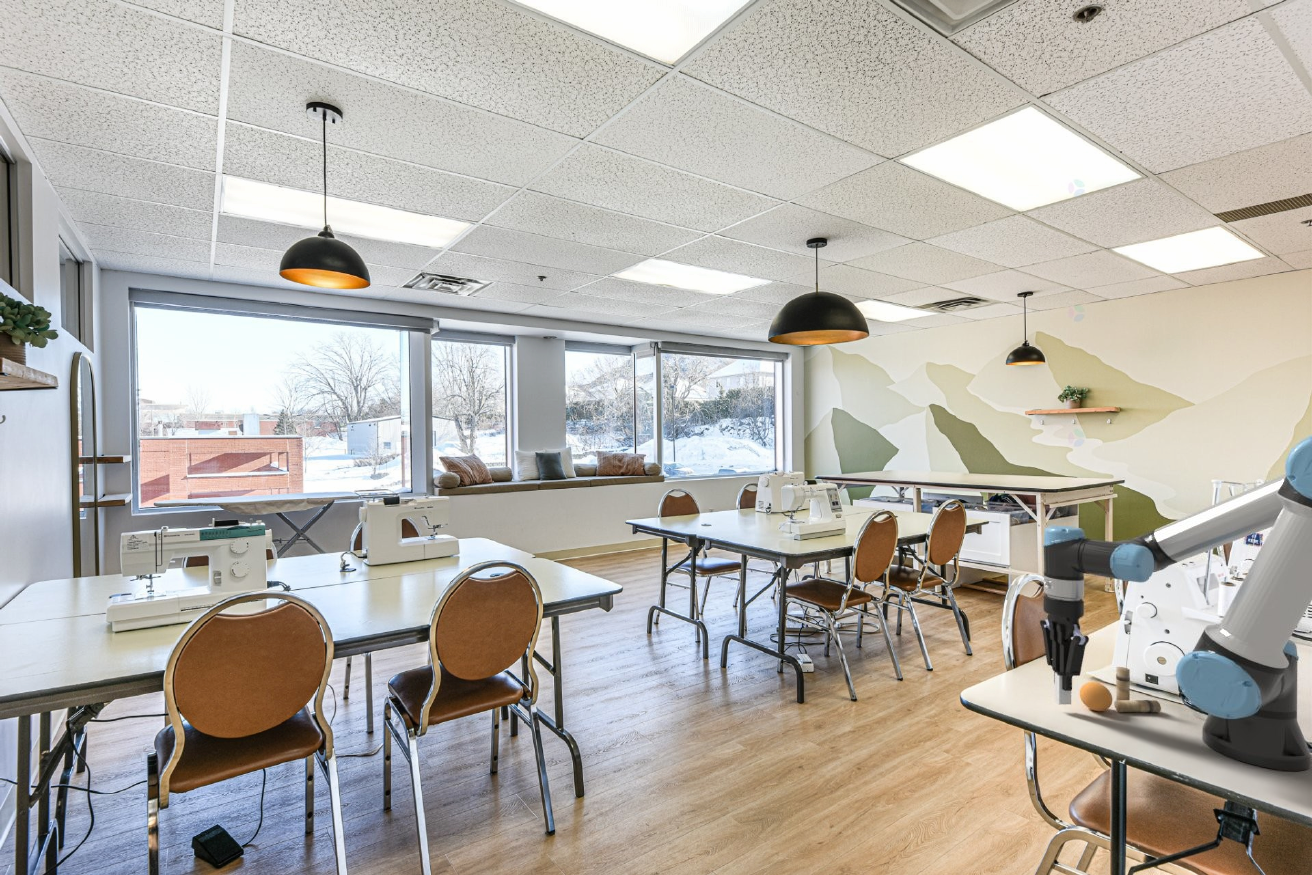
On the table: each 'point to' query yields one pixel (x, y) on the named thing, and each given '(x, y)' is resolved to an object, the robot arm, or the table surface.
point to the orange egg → (1096, 696)
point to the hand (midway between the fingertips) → (1062, 702)
